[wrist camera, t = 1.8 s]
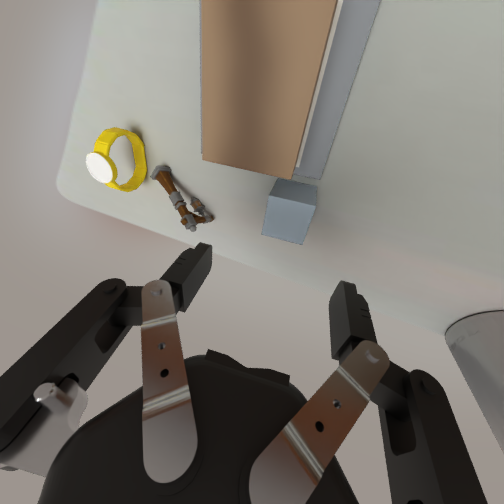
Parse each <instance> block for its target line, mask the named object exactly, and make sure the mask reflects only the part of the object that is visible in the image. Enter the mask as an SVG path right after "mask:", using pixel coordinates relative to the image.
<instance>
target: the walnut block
mask: <svg viewBox="0 0 504 504" xmlns="http://www.w3.org/2000/svg"><path fill="white" fill-rule="evenodd" d="M337 4H338V0H201V22H202V160H205V161H209V162H214V163H218V164H223V165H227V166H232V167H236V168H241V169H245V170H249V171H254V172H258V173H263V174H267V175H272V176H276V177H281V178H285V179H290V180H291V178H292V175H293V172H294V169H295V167H296V164H297V160H298V156H299V152H300V148H301V144H302V140H303V137H304V133H305V129H306V125H307V121H308V117H309V113H310V109H311V105H312V101H313V97H314V94H315V90H316V86H317V82H318V78H319V74H320V70H321V66H322V62H323V58H324V55H325V51H326V47H327V43H328V39H329V35H330V31H331V27H332V23H333V19H334V15H335V12H336V8H337Z"/></svg>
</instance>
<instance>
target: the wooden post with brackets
mask: <svg viewBox="0 0 504 504" xmlns="http://www.w3.org/2000/svg"><path fill="white" fill-rule="evenodd" d="M170 172H171V169H170V167H164V166H156V168H155V169H154V171H153V173H152V174H151V176H150V177H151V178H152V179H153V180H158V181H159V182H160V184H161V185H162V186H163V187H164V188H165V190H166V191H167V192H168V194H169V195H170V196H169V198H170V199H171V201H172V203H173V206H175V209H176V210H178V211H179V213H180V215H181V217H182V219H181V223H182V224H183V225H185V227H186V229H190V230H191V231H192V232H195V231H196V225H197V224H198V223H203V224H204V223H208V222H212V221H213V220H214V218H213V217H212V216H208V215H206V216H205V215H204V211H203V210H202V209H203V208H204V207H205V206H202V205H201V203H200V201H199V199H197V200H196V198H194V197H193V198H191V204H190V205H191V206H192V207H193V208H194V210H195V211H194V212H198V213H199V214H201V215H202V217H201V216H198V215H196V214H194V213H192V212H190V211H188V209H187V207H186V202H183V201H184V199H183V198H182V196H181V194H180V192H178V191H177V189H176V188H175V186H174V184H173V181H172V179H171V177H170V174H169V173H170ZM193 217H194V218H193Z"/></svg>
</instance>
